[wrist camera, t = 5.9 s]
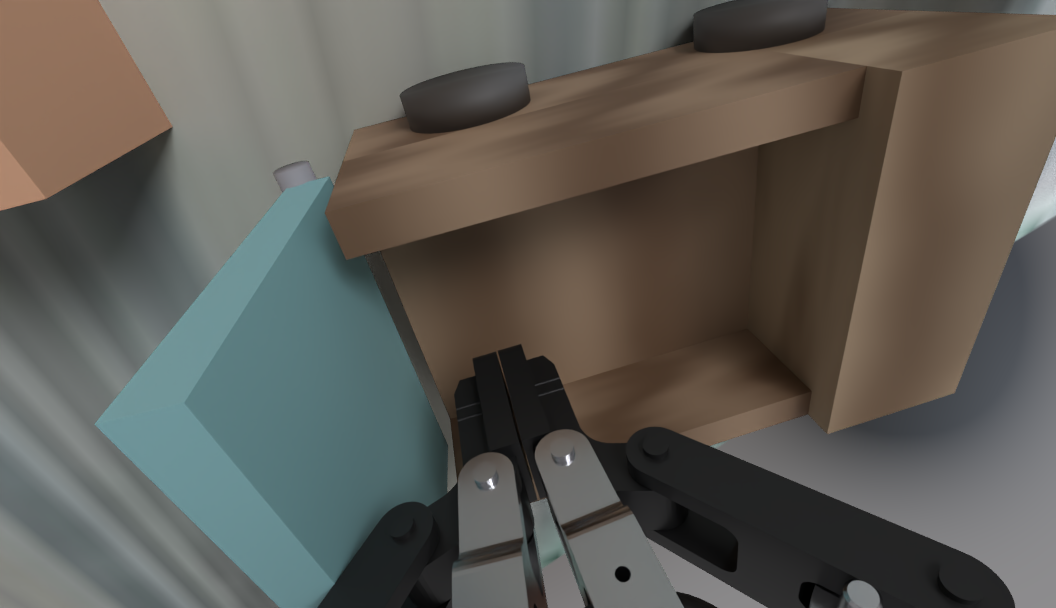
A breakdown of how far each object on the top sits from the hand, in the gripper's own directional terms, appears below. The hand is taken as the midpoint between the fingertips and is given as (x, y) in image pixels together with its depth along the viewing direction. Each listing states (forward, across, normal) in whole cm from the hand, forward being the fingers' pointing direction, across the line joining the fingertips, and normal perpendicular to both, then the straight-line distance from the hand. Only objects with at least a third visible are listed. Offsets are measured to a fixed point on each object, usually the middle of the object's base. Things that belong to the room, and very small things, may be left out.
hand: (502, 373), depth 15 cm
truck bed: (+8, -6, 0) cm, 10 cm away
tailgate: (+4, +4, 0) cm, 6 cm away
